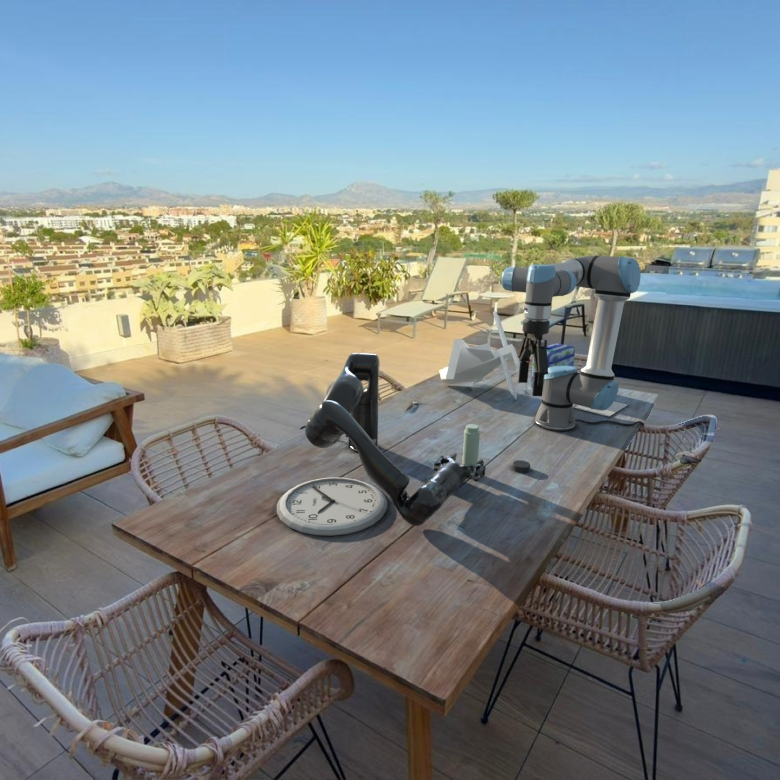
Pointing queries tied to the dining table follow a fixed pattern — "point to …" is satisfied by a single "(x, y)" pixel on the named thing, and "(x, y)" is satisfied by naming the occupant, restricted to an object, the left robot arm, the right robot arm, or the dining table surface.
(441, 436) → the dining table surface
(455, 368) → the white plastic object
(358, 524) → the wall clock
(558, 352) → the lunch box
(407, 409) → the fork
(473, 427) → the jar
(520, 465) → the lid
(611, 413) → the invitation card
